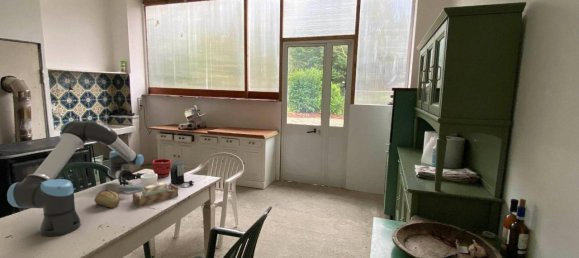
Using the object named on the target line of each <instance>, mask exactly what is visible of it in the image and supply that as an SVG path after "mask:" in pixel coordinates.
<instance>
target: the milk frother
mask: <svg viewBox="0 0 579 258" xmlns="http://www.w3.org/2000/svg"><path fill="white" fill-rule="evenodd" d="M184 163H185V161H182V160H181V161H180V160H179V161H171V163H170V164H171V169H170V171H169V172H170V174H169V176H170V184H173V185H175V186H178V185H183V184H189V185H193V184H194V183H195V181H193V180H189V181H185V171H184V170H185V167H184Z"/></svg>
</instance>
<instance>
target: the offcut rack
mask: <svg viewBox="0 0 579 258" xmlns="http://www.w3.org/2000/svg"><path fill="white" fill-rule="evenodd" d="M169 190H170V191H166V192H162V193H158V194H154V195H150V196H146V197H142V198H141V195H139V194H137V193H136V192H135V193H131V194H132V204H133V205H134V206H136V207H137V208H139V207H143V206H147V205H150V204H154V203H157V202H161V201H164V200H169V199H171V198H177V197H179V187H178V185H173V184H171V183H170V189H169Z"/></svg>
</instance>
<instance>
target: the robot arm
mask: <svg viewBox="0 0 579 258" xmlns="http://www.w3.org/2000/svg"><path fill="white" fill-rule="evenodd" d="M59 138H60V141H59V142H58V143H57V144H56V146H55V147H54V148H53V149H52V151H50V153H49V154H48V156H47V157H46V158H44V160H43V162H42V163H41V164H40V165H39V166H38V168H37V169H36V170H35V171H34V173H31V174H28V175H27V176H26V177H24V179H23V180H22V181H18V182H14V183H12V184H11V185H10V186H9V187H8V190H7V193H6V197H7V202H8V204H10V205H11V207H15V208H20V209H21V208H22V209H42V211H43V218H42V222H41V225H40V229H39V231H40V232H39V233H40V235H41V236H43V237H57V236H62V235H65V234H69V233H71V232H74V231H76V230H77V229H79V228H80V227H81V226H82V225H81V224H82V221H81V219H80V217H79V215H78V213H77V211H76V207H75V206H76V205H75V190H74V185H73V182H72V181H70V180H68V179H66V178H65V179H63V178H57V176H58V174H60V172H61V171H62V169H63V168H64V167H65V165H66V164H67V163H68V161H69V160H70V159H71V157H72V156H73V155H74V153H75V152H76V151H77V150H78V149H79V148H82V147H83V146H85V144H86V142H89V143H91V142H95V143H100V144H102V146H103V145H104V146H107V147H109V148H110V149H111V150H112V151H111V150H110V152H109V168H108V170H107V175H108V176H109V177H111V178H112V179H116V180H118V181H117V182H119V186H122V187H125V186H131V187H132V186H133V185H134V184H133V180H139V179H140V180H141V176H142V175H144V174H149V173H140V172H137V173H133V172H132V171H131V170H128V169H124V166H142V164H144V161H145V158H144V155H143V154H137V153H136V152H135V151H134V150H133V149H132V148H131V147H129V146H128V145H127V144H126V143H125V142H124V141H123V140H122V139H121V138H119V136H118V133H117V132H116V131H115V130H114V129H112V128H111V127H109V126H108V125H106V124H104V123H102V122H100V121H87V120H86V121H85V120H84V121H83V120H69V121H67V122H65V123H64V124H62V126H61V127H60V132H59ZM56 178H57V179H56Z"/></svg>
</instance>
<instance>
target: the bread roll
mask: <svg viewBox="0 0 579 258" xmlns="http://www.w3.org/2000/svg"><path fill="white" fill-rule="evenodd" d="M94 203H95V204H97V205H99V206H104V207H107V208H116V207H117V206H118V205H119V203H120V197H119V195H118V194H117V192H115V191H114V190H113V191H112V190H105V191H102V192H100V193H98V194H97V195H96V196H95V198H94Z"/></svg>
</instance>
